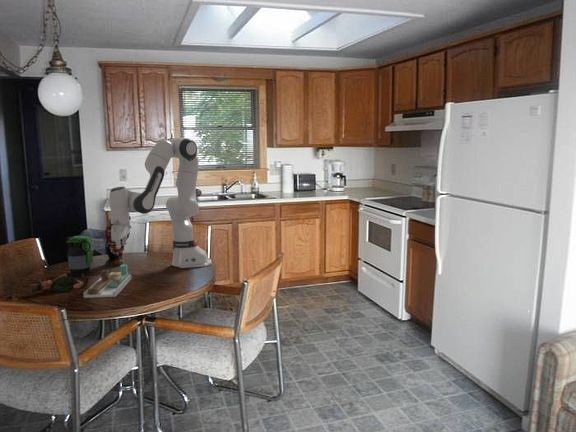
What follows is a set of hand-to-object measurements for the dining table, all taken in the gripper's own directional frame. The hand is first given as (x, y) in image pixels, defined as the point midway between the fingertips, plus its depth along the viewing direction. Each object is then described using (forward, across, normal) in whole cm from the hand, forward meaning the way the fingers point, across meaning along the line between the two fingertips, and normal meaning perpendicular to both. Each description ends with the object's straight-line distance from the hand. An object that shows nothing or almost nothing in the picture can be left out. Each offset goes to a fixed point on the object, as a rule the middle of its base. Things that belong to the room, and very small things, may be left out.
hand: (121, 246), depth 233 cm
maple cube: (+15, -14, 0) cm, 20 cm away
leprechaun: (+18, -16, +25) cm, 34 cm away
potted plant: (+18, +13, +25) cm, 33 cm away
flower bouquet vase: (+18, +29, +11) cm, 36 cm away
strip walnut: (+16, -17, +6) cm, 24 cm away
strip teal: (+16, -8, 0) cm, 18 cm away
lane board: (+17, -14, +3) cm, 22 cm away
